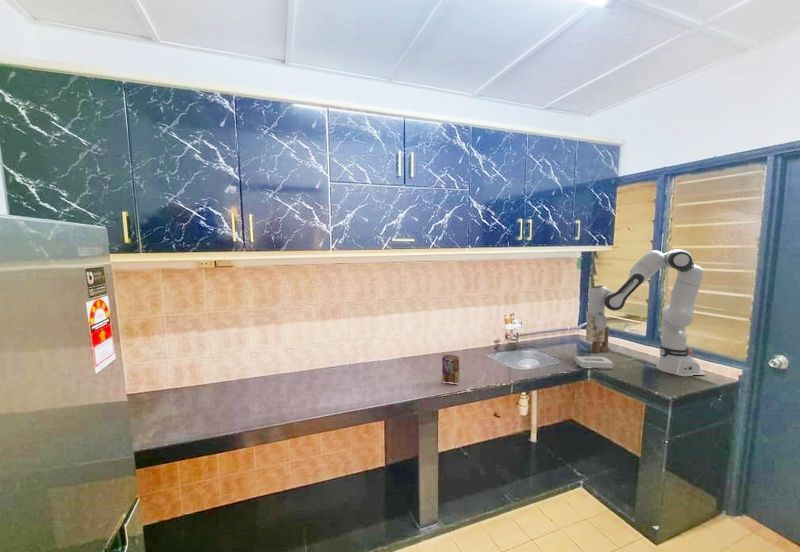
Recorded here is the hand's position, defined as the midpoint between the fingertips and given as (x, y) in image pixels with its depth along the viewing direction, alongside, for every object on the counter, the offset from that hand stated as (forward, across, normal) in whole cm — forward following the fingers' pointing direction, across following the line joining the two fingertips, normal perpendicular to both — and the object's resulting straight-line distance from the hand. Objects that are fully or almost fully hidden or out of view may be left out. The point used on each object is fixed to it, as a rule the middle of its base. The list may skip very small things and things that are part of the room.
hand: (595, 331), depth 216 cm
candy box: (+17, -46, +96) cm, 107 cm away
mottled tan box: (+6, 0, 0) cm, 6 cm away
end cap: (+18, -13, +6) cm, 23 cm away
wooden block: (+18, +14, -10) cm, 26 cm away
